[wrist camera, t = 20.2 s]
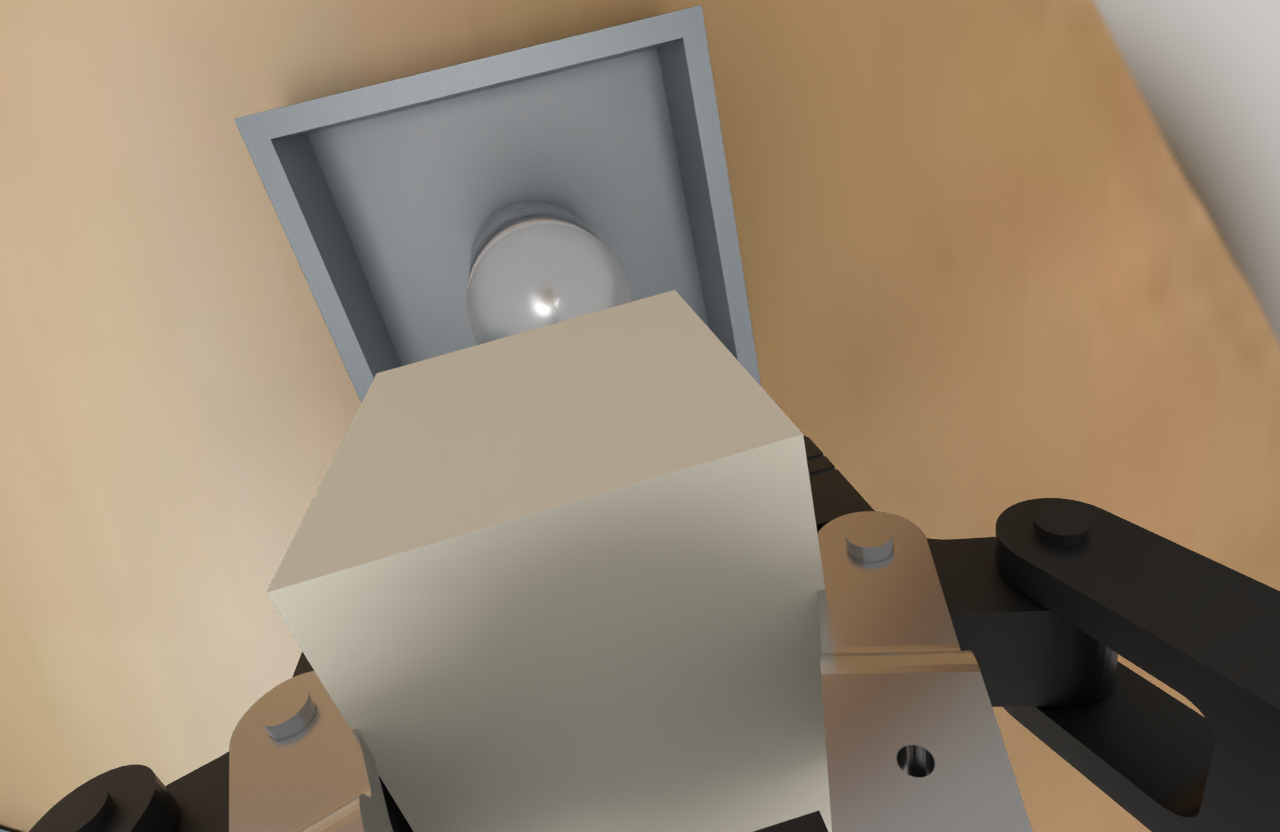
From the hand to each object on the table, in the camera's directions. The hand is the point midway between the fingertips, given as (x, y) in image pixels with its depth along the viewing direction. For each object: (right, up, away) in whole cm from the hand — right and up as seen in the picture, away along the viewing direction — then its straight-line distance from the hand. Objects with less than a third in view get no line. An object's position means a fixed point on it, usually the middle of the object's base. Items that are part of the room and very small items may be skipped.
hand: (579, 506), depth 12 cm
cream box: (0, 0, +1) cm, 1 cm away
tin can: (-3, +8, +18) cm, 20 cm away
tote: (-4, +9, +19) cm, 21 cm away
